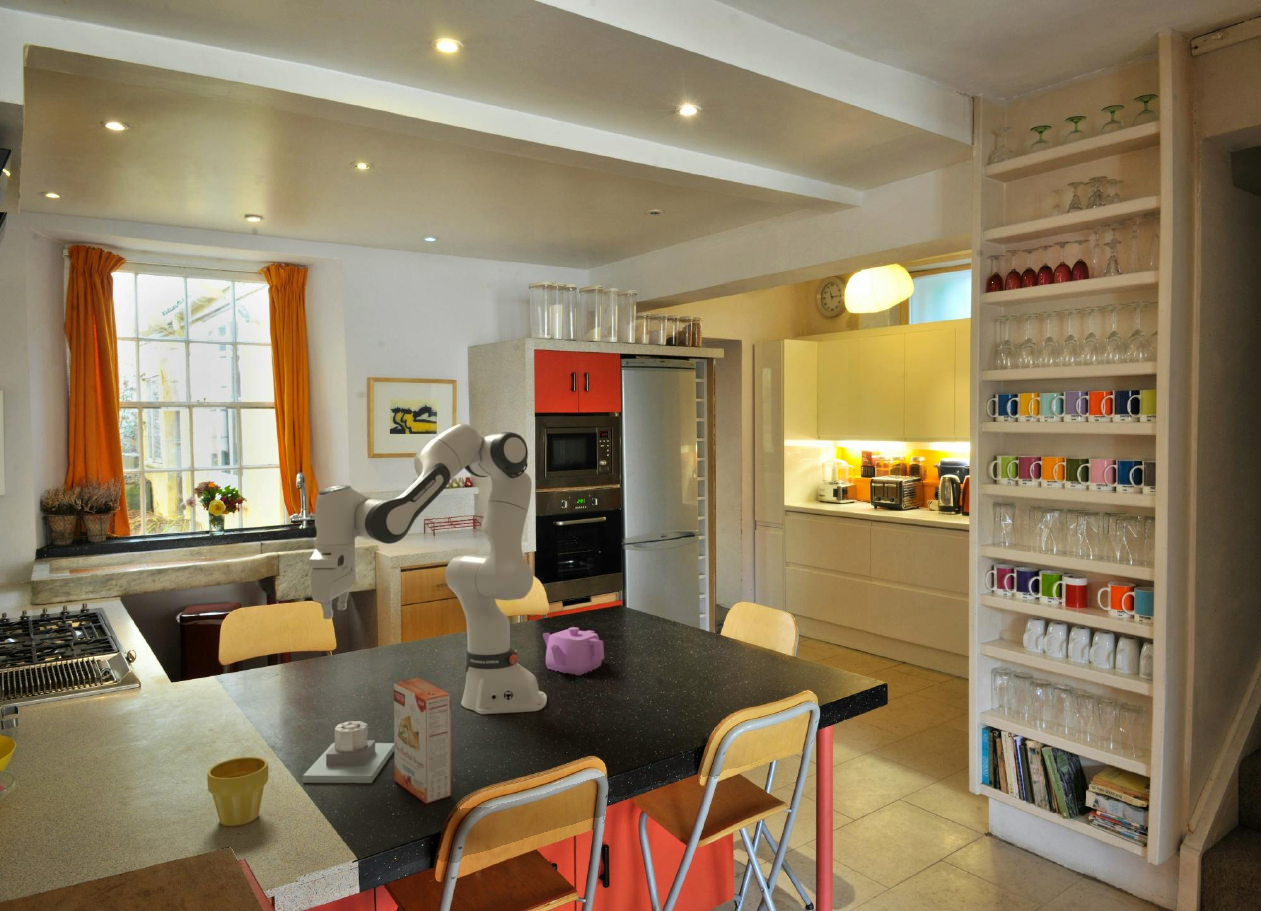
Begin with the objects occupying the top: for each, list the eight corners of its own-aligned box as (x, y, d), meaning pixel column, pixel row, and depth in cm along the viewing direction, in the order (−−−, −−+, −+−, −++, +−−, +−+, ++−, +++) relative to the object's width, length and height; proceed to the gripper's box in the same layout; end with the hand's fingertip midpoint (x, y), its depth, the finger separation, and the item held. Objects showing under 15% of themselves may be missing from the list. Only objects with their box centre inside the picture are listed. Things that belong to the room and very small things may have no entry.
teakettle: (606, 674, 253) (606, 633, 253) (549, 677, 249) (549, 636, 249) (595, 659, 270) (595, 620, 270) (541, 662, 266) (542, 622, 266)
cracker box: (392, 782, 176) (392, 681, 175) (419, 774, 180) (419, 676, 179) (424, 805, 165) (424, 698, 164) (452, 797, 169) (452, 692, 168)
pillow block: (394, 749, 193) (394, 712, 193) (371, 782, 175) (371, 742, 175) (332, 749, 193) (332, 712, 193) (303, 782, 175) (302, 741, 175)
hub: (369, 741, 187) (369, 721, 187) (361, 752, 181) (361, 731, 181) (341, 741, 187) (341, 721, 187) (331, 752, 181) (331, 731, 181)
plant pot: (194, 825, 156) (194, 772, 156) (238, 802, 166) (238, 752, 165) (238, 835, 152) (237, 781, 152) (281, 811, 162) (280, 760, 162)
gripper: (336, 548, 210) (336, 604, 210) (305, 561, 189) (305, 623, 190) (362, 548, 210) (362, 604, 210) (334, 562, 189) (334, 623, 190)
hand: (335, 613), depth 200 cm, fingers open, 8 cm apart
